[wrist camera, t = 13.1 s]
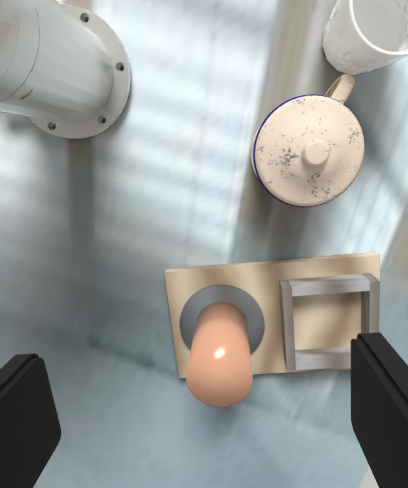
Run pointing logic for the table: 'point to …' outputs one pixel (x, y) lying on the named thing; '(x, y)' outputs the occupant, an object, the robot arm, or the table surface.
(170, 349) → the table surface
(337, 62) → the white cup
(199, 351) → the peach rounded peg
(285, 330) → the board
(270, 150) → the teacup with lid
